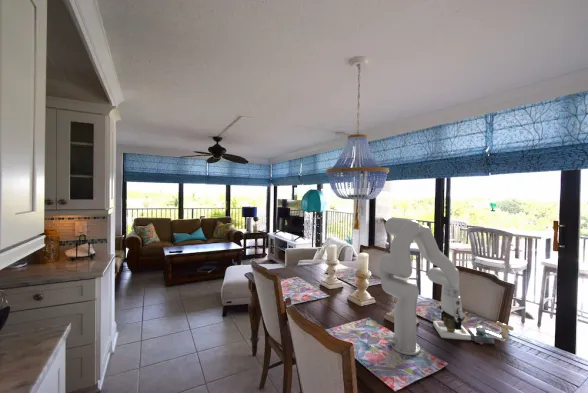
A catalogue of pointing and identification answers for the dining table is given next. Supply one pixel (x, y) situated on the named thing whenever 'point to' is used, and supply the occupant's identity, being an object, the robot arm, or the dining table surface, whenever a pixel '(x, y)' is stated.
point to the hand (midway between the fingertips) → (450, 324)
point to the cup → (449, 322)
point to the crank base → (480, 337)
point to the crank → (500, 337)
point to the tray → (457, 334)
